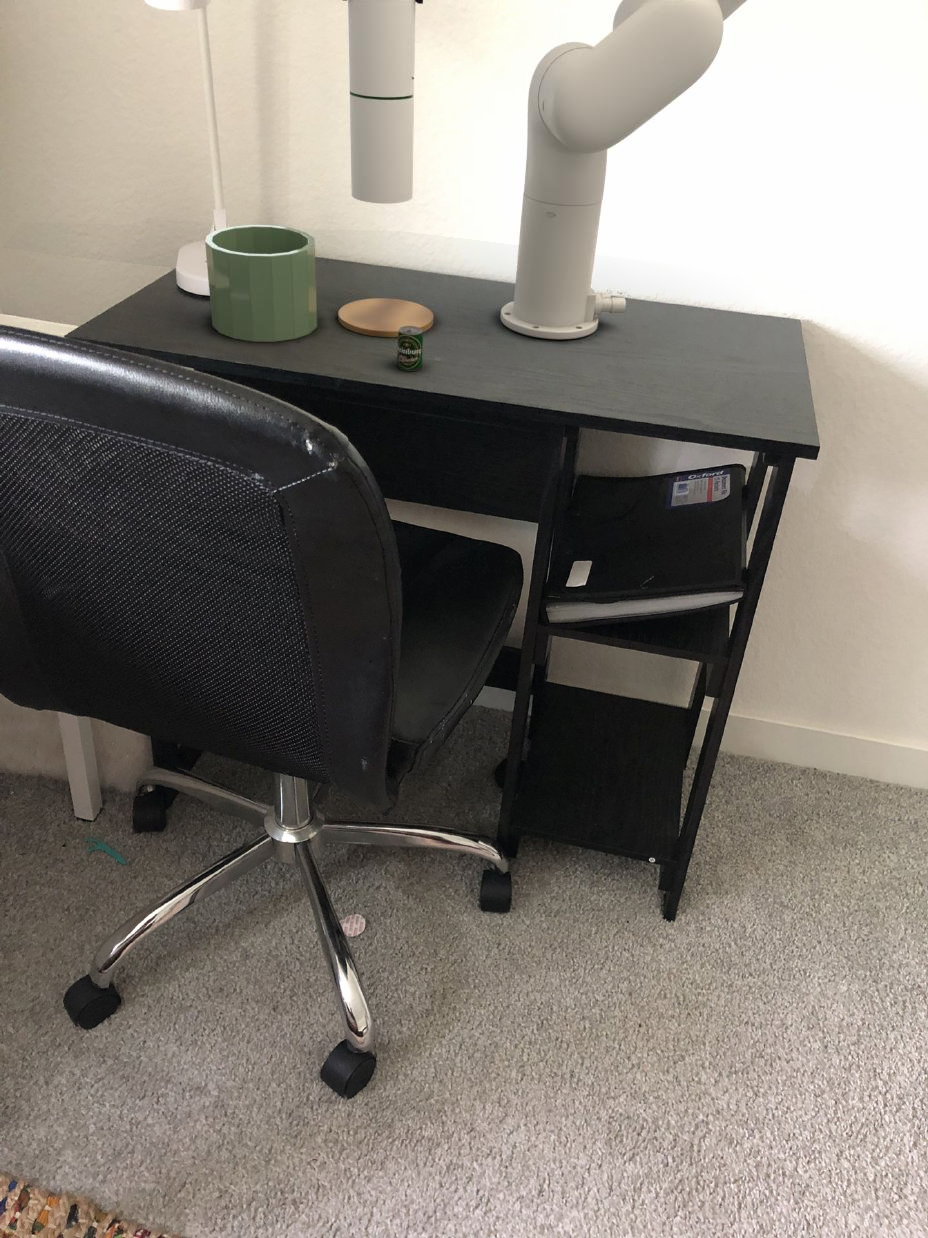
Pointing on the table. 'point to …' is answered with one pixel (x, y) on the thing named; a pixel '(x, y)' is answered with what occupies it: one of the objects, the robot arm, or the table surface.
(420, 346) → the beer can
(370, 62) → the cylindrical container
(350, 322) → the coaster
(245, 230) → the crock
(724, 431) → the table surface
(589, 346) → the table surface
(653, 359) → the table surface
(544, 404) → the table surface
